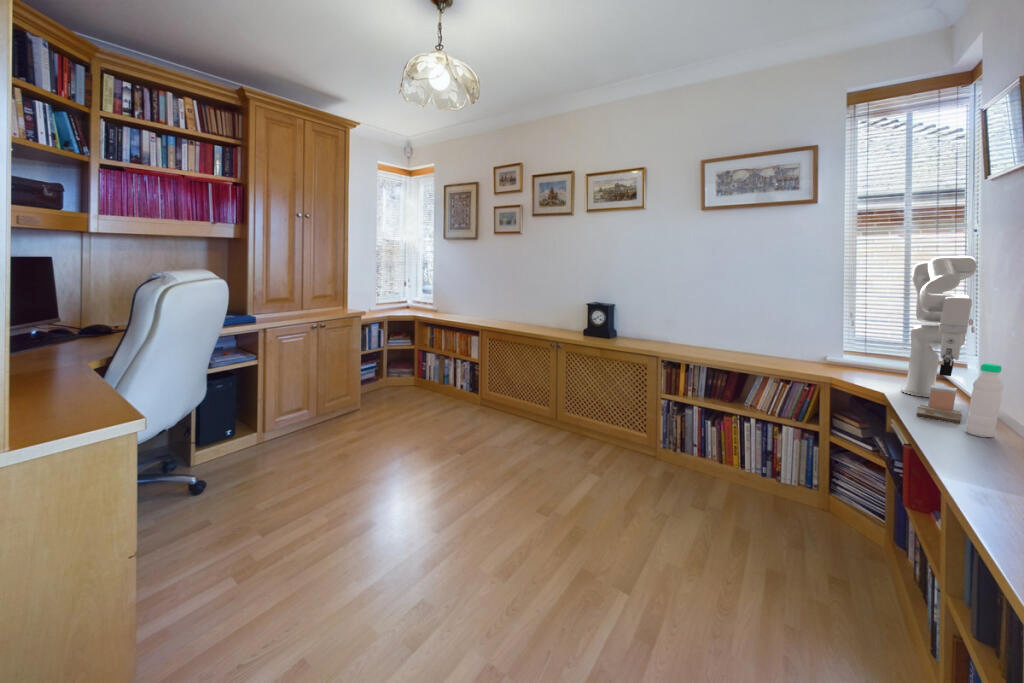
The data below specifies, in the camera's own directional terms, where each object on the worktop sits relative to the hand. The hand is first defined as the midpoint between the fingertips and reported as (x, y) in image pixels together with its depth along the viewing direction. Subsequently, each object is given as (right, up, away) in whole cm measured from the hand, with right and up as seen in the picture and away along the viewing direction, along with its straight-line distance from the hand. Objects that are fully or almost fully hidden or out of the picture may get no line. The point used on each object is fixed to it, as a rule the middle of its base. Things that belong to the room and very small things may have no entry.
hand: (945, 372), depth 169 cm
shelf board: (0, -17, +3) cm, 17 cm away
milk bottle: (-4, -21, -16) cm, 26 cm away
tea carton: (0, -16, +2) cm, 16 cm away
